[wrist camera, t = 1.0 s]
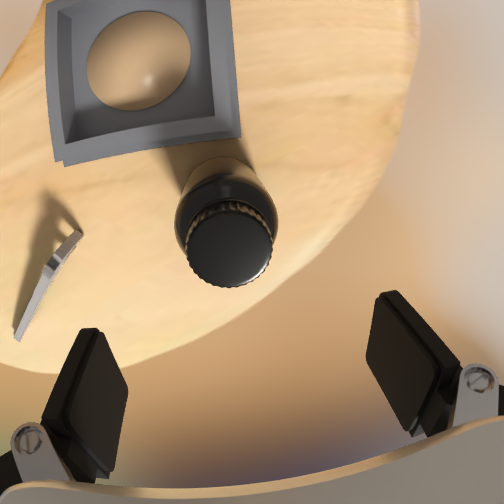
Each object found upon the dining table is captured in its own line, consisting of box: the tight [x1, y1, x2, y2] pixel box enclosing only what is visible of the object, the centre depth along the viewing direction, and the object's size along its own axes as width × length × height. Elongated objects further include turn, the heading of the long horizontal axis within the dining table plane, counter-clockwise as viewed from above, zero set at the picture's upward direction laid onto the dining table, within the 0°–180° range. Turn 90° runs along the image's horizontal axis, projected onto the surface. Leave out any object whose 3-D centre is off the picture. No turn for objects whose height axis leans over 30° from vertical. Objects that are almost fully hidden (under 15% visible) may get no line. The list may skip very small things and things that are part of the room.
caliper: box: [14, 229, 84, 342], centre depth 27 cm, size 20×1×6 cm, turn 134°
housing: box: [45, 0, 241, 167], centre depth 20 cm, size 16×16×4 cm
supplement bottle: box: [174, 157, 278, 288], centre depth 22 cm, size 7×7×12 cm
